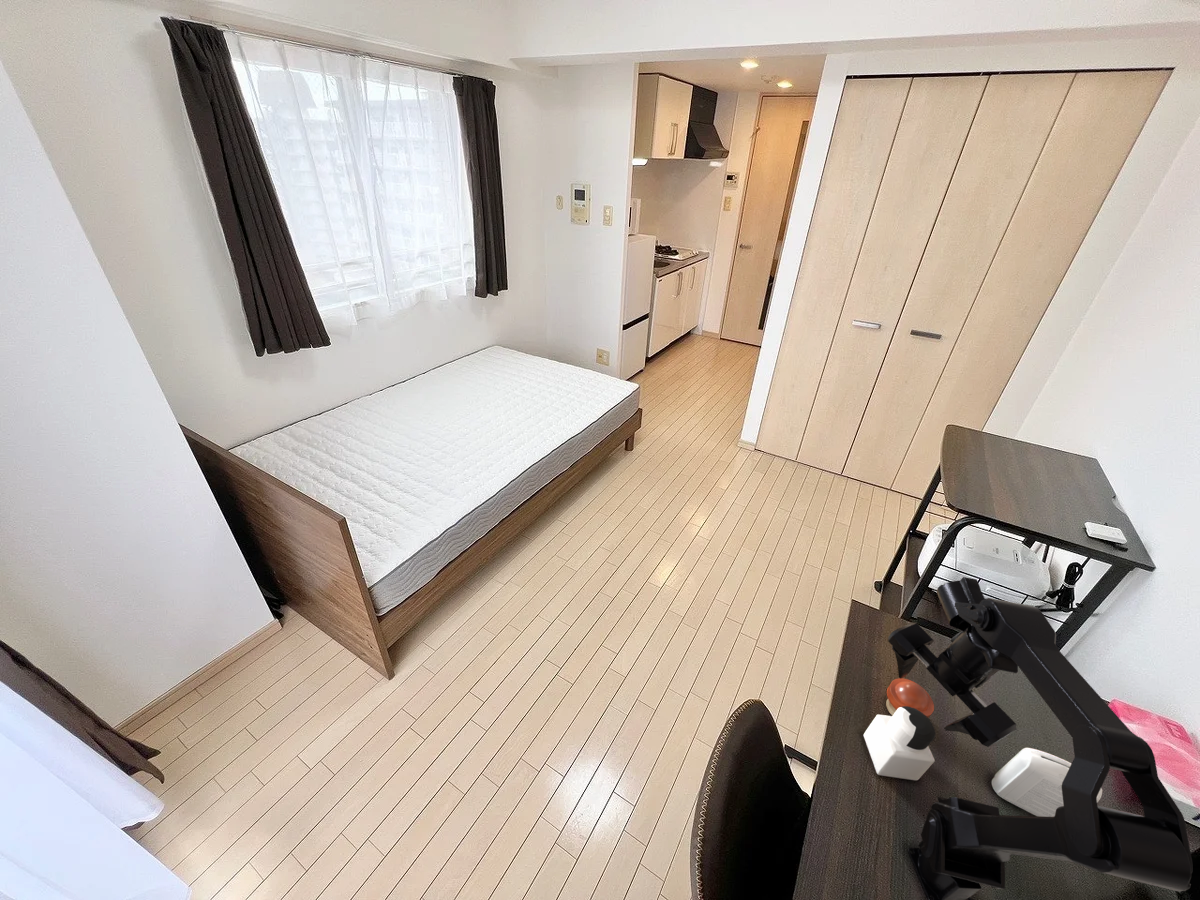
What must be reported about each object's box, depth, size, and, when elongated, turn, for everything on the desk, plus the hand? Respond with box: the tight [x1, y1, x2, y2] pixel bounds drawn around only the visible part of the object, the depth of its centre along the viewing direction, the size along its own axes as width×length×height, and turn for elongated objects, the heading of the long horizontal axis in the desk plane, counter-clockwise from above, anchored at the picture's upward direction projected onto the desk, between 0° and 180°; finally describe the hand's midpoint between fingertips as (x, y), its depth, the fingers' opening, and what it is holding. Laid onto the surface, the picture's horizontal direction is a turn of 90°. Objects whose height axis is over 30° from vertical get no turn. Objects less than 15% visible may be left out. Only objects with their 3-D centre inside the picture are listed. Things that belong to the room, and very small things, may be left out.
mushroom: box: [885, 677, 935, 719], centre depth 93 cm, size 8×8×7 cm
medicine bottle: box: [863, 706, 936, 781], centre depth 84 cm, size 7×7×12 cm
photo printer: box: [991, 747, 1103, 817], centre depth 79 cm, size 10×4×12 cm, turn 60°
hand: (923, 701), depth 83 cm, fingers open, 9 cm apart
